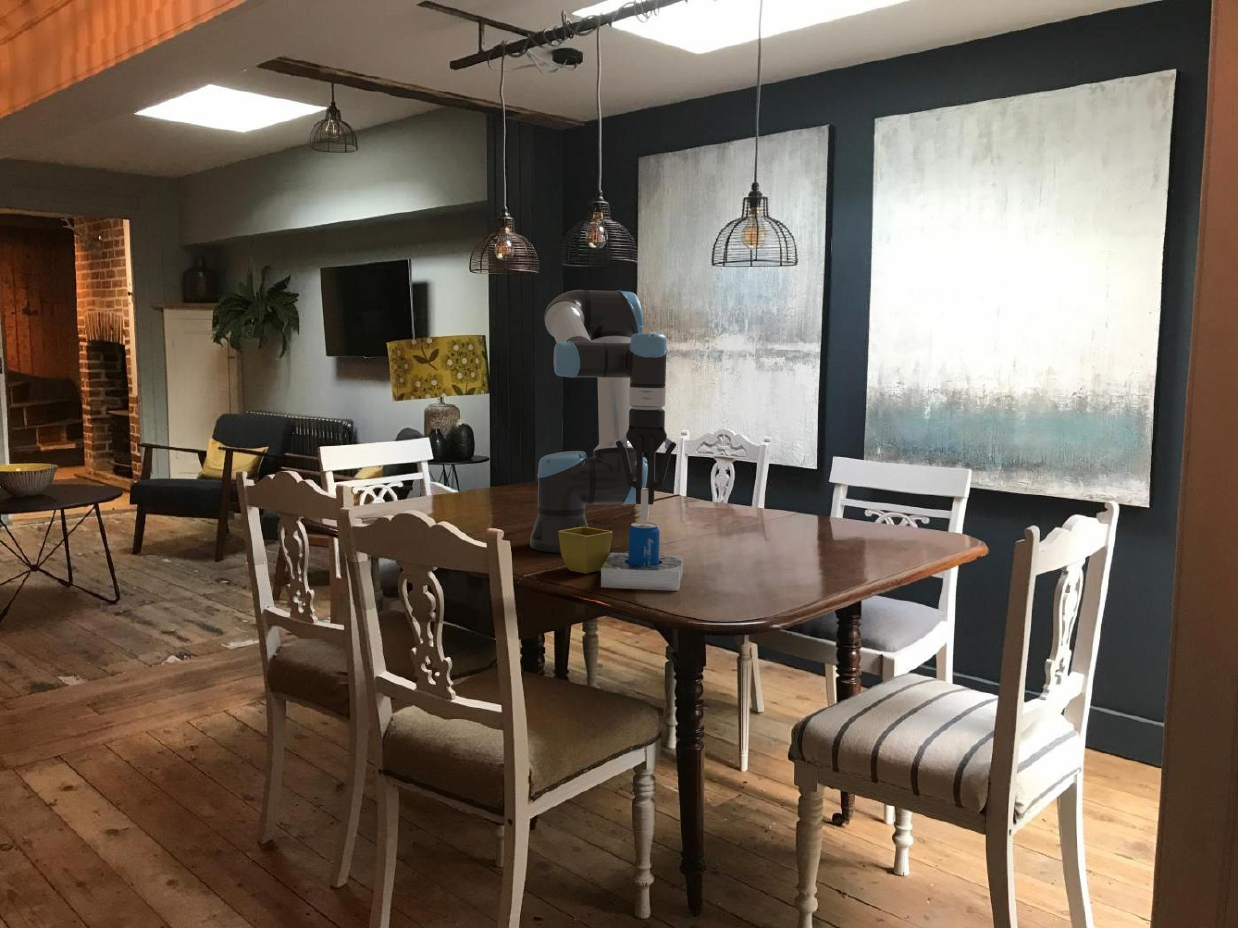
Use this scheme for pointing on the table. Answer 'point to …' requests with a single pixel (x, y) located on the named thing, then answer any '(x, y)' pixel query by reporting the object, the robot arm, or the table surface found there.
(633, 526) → the beverage can
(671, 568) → the jig
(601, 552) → the flower pot
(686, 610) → the table surface
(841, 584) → the table surface
